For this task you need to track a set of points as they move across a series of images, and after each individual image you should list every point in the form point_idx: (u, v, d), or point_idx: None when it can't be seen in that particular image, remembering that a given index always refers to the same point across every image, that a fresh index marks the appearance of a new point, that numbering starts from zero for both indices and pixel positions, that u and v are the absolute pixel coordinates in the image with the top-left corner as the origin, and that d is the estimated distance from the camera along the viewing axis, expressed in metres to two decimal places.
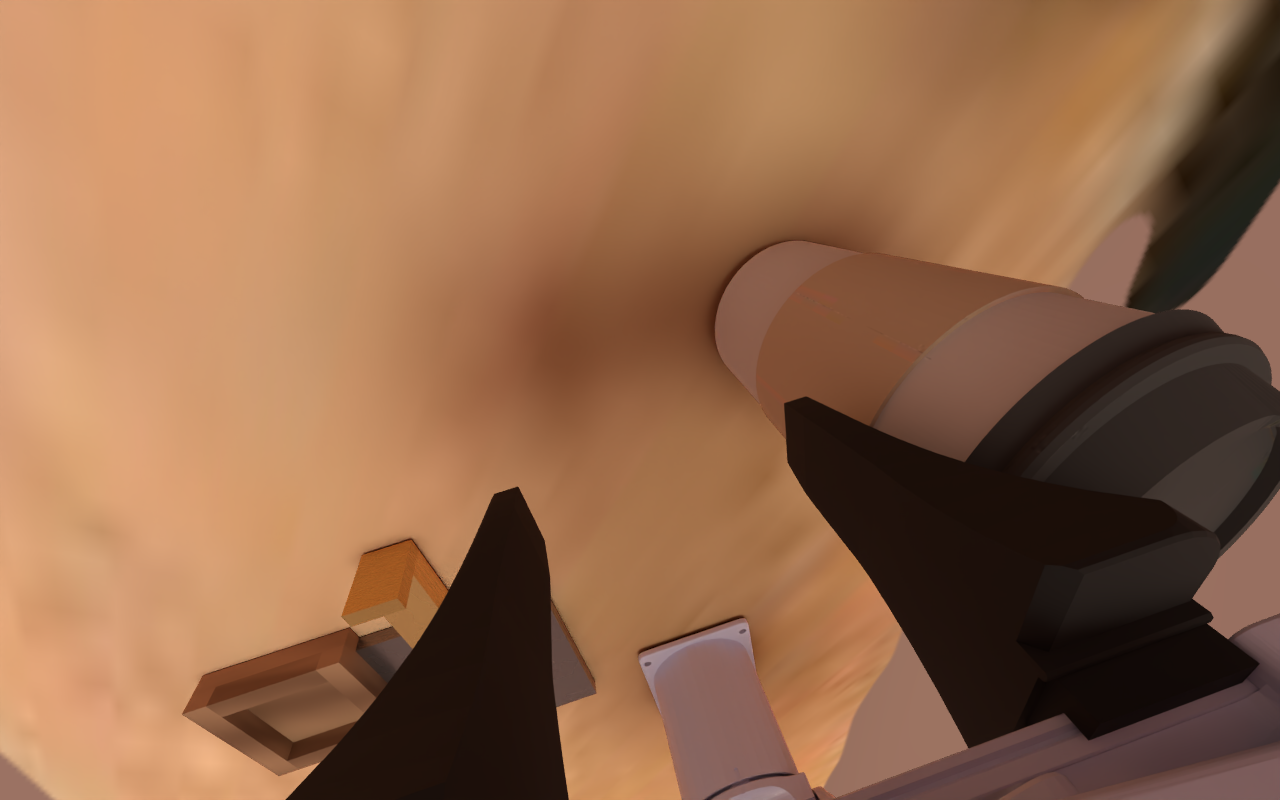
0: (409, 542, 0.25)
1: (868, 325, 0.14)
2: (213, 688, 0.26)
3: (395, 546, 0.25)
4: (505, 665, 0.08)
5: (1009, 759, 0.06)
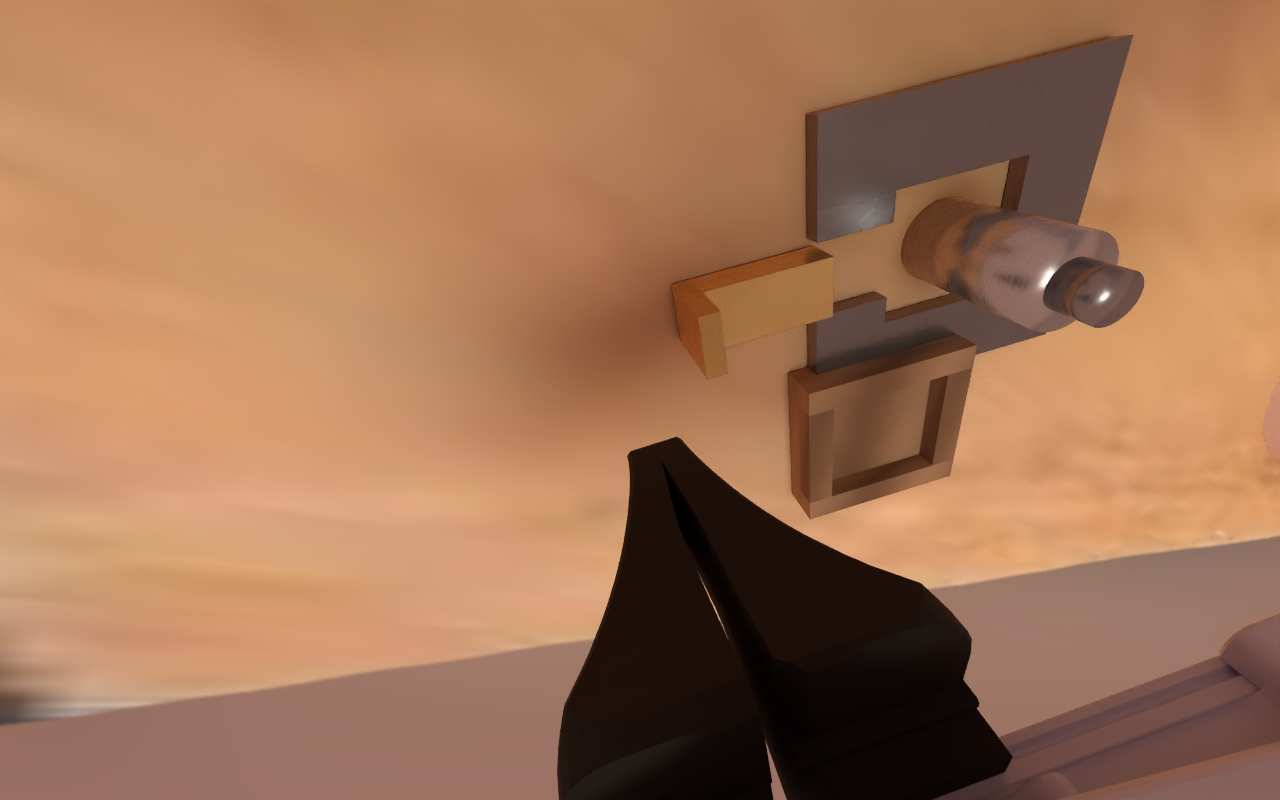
0: (672, 287, 0.19)
1: None
2: (801, 492, 0.26)
3: (675, 303, 0.20)
4: None
5: None
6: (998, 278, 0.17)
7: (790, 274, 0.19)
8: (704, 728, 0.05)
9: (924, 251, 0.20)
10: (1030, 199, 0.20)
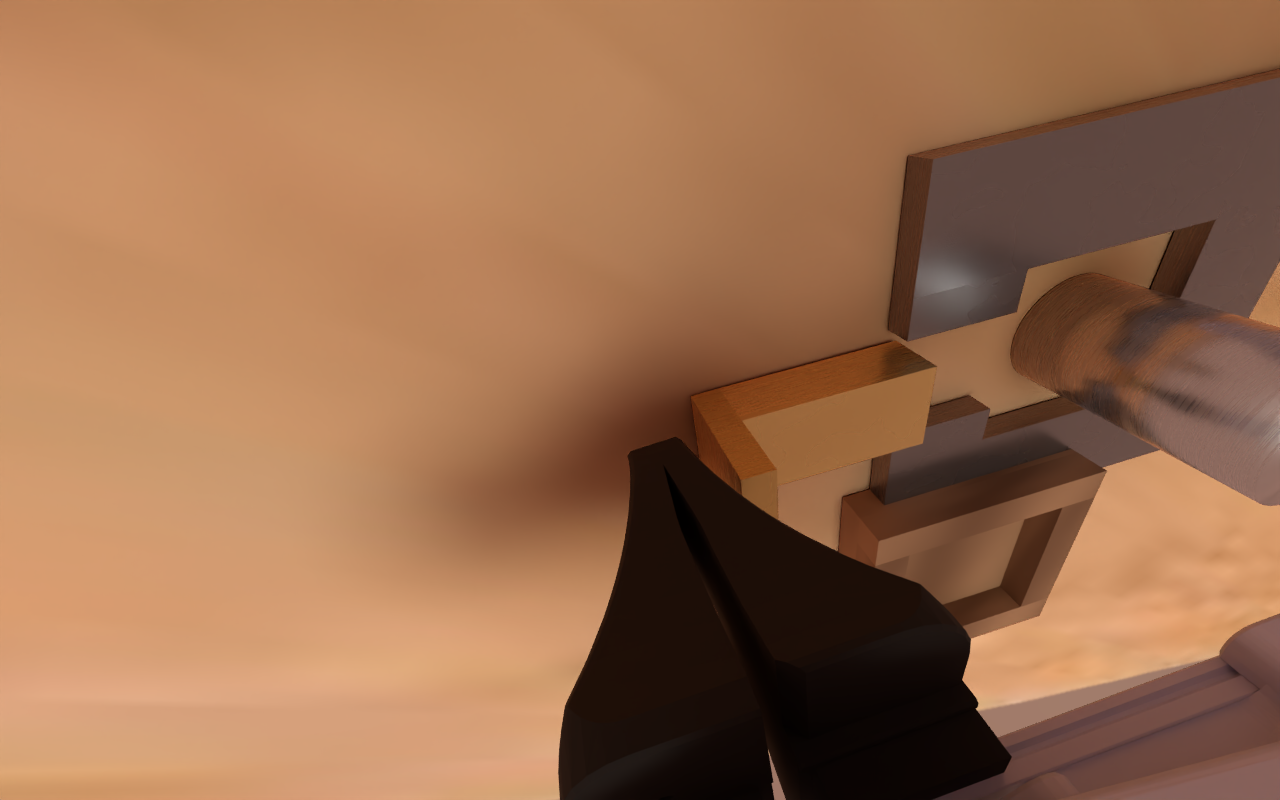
0: (692, 401, 0.13)
1: None
2: None
3: (695, 421, 0.13)
4: None
5: (1009, 759, 0.06)
6: (1214, 423, 0.11)
7: (871, 391, 0.12)
8: (705, 728, 0.05)
9: (1055, 352, 0.14)
10: (1201, 279, 0.14)
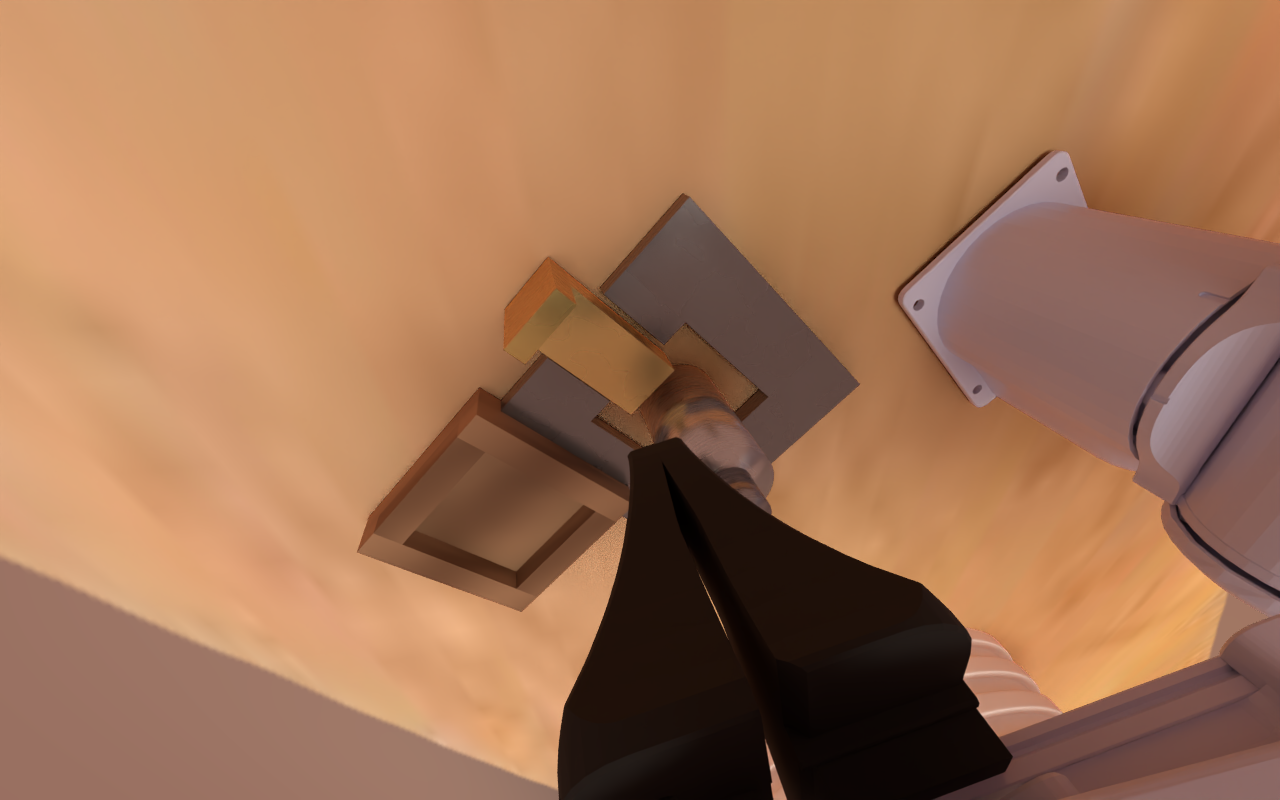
0: (547, 259, 0.17)
1: None
2: (377, 517, 0.20)
3: (534, 274, 0.17)
4: None
5: None
6: (692, 441, 0.17)
7: (638, 348, 0.18)
8: (704, 728, 0.05)
9: (663, 389, 0.20)
10: None
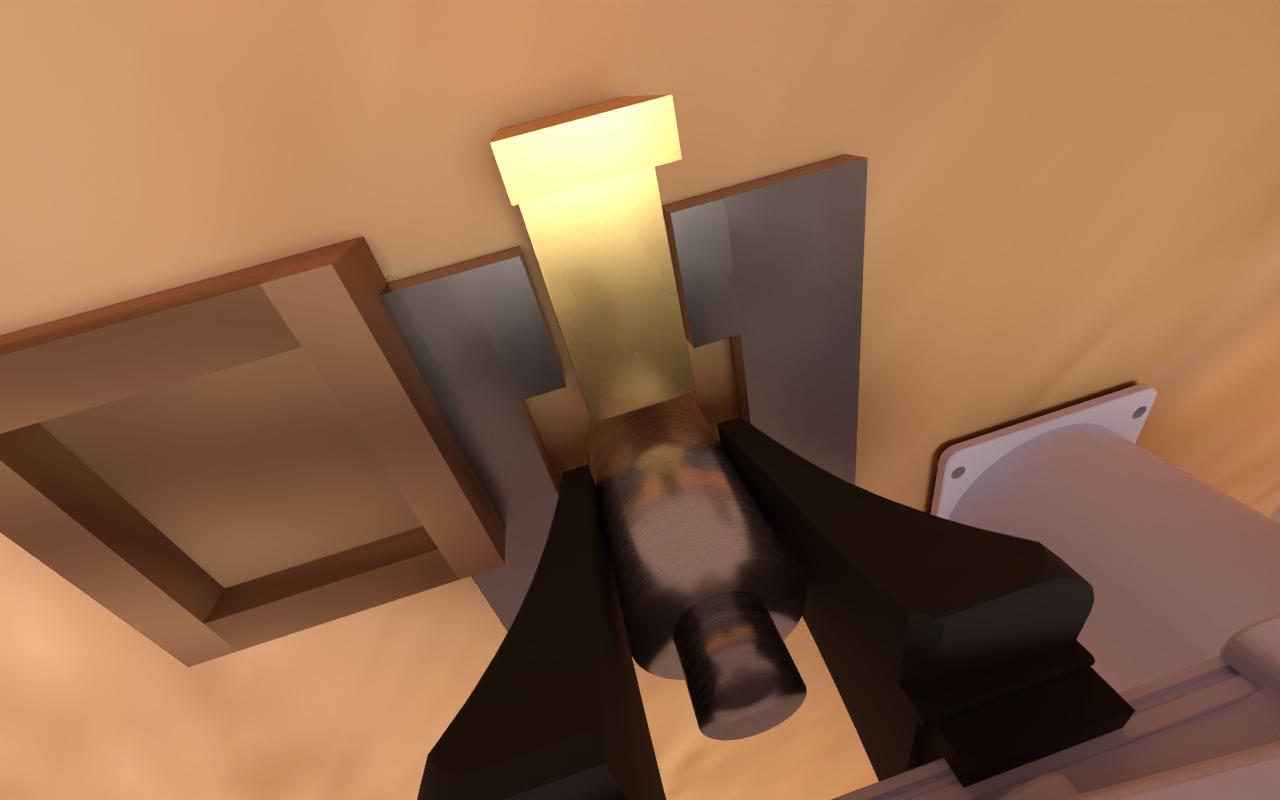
0: (622, 97, 0.09)
1: None
2: None
3: (585, 107, 0.09)
4: (607, 630, 0.08)
5: None
6: (706, 517, 0.09)
7: (673, 326, 0.10)
8: (552, 782, 0.05)
9: (655, 411, 0.12)
10: None
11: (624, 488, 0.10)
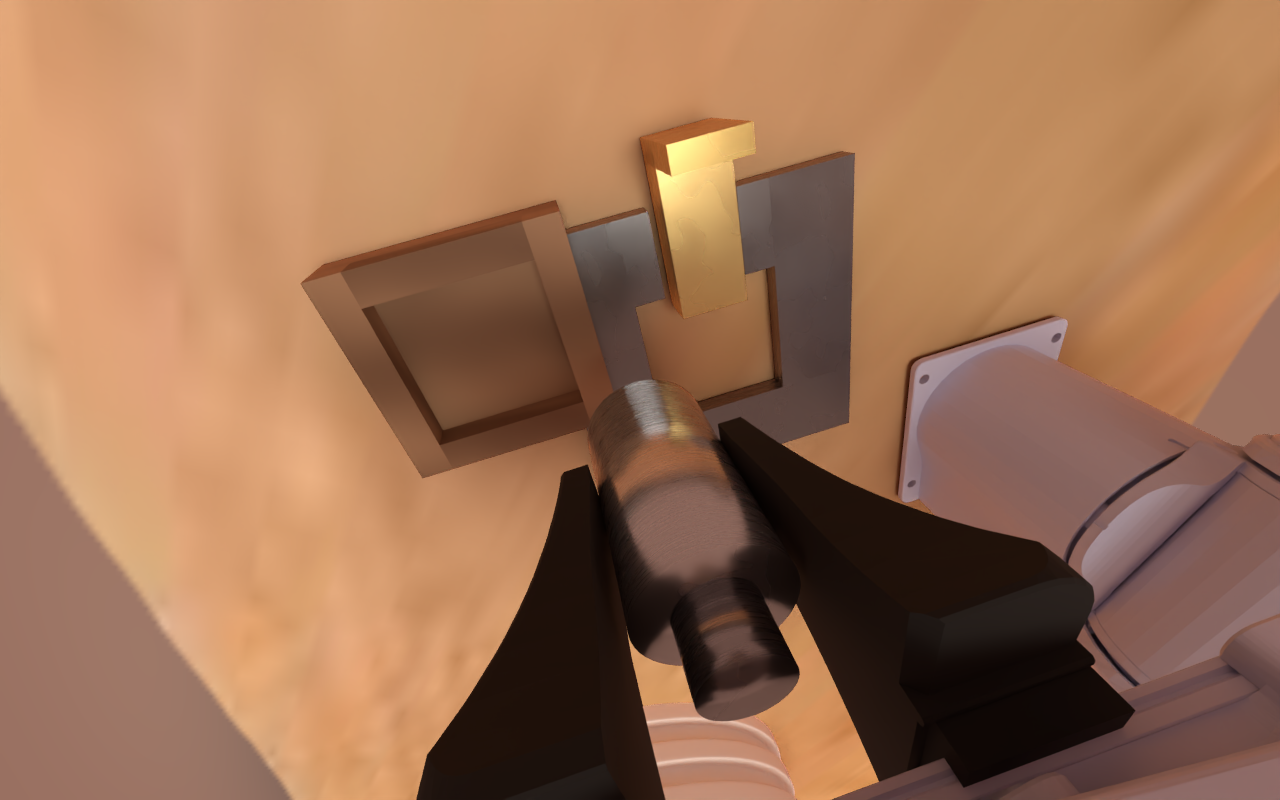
0: (711, 118, 0.16)
1: None
2: (346, 264, 0.15)
3: (690, 124, 0.16)
4: (607, 631, 0.08)
5: None
6: (699, 506, 0.09)
7: (736, 255, 0.17)
8: (550, 783, 0.05)
9: (652, 406, 0.12)
10: (745, 407, 0.22)
11: (621, 481, 0.11)
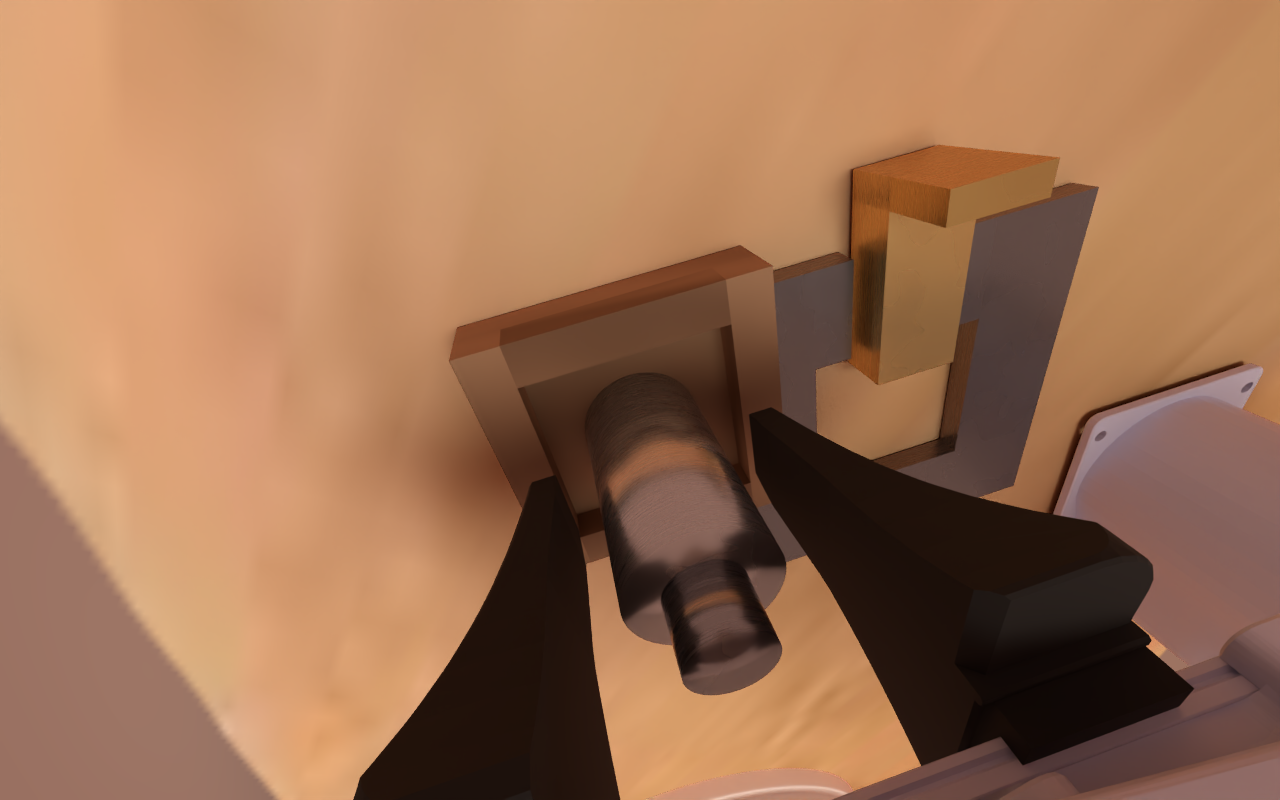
0: (941, 146, 0.13)
1: None
2: (496, 331, 0.12)
3: (916, 153, 0.13)
4: (560, 646, 0.08)
5: (1009, 759, 0.06)
6: (688, 492, 0.10)
7: (954, 311, 0.14)
8: None
9: (645, 398, 0.13)
10: (909, 475, 0.19)
11: (615, 470, 0.11)
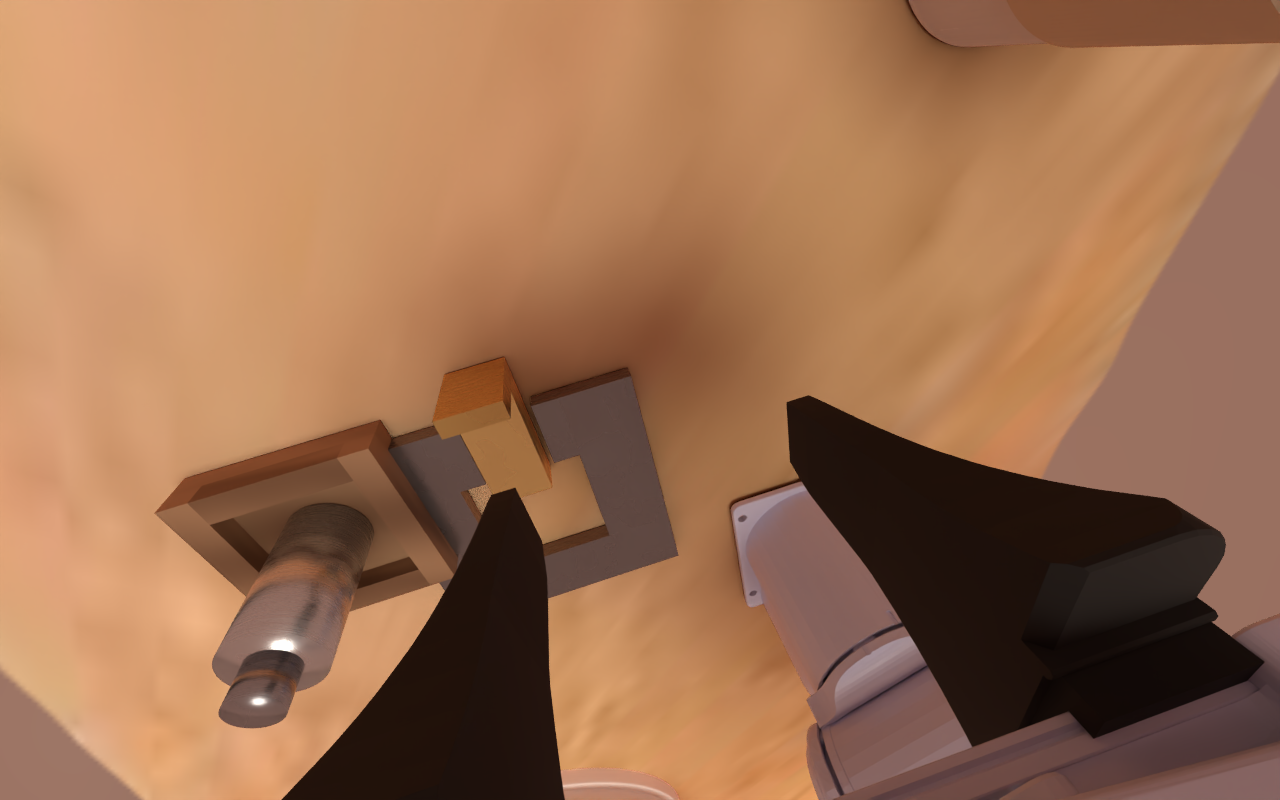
0: (502, 359, 0.20)
1: None
2: (198, 487, 0.19)
3: (485, 364, 0.20)
4: (501, 667, 0.08)
5: (1009, 759, 0.06)
6: (263, 608, 0.16)
7: (534, 459, 0.21)
8: None
9: (301, 527, 0.19)
10: (579, 552, 0.26)
11: None
